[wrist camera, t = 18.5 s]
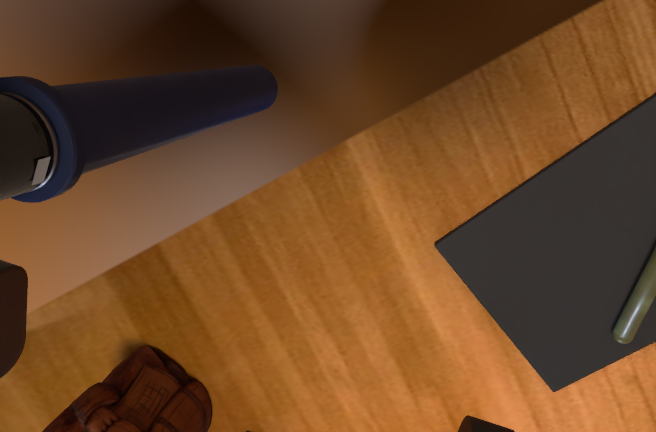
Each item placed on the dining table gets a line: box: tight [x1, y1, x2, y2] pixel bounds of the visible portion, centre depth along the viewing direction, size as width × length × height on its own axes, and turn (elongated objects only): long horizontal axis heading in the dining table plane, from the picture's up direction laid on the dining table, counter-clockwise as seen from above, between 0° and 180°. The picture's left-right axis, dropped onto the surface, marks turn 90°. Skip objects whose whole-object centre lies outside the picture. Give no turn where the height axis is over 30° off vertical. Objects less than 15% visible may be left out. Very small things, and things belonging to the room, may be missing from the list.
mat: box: [434, 94, 656, 392], centre depth 38 cm, size 26×16×1 cm, turn 131°
